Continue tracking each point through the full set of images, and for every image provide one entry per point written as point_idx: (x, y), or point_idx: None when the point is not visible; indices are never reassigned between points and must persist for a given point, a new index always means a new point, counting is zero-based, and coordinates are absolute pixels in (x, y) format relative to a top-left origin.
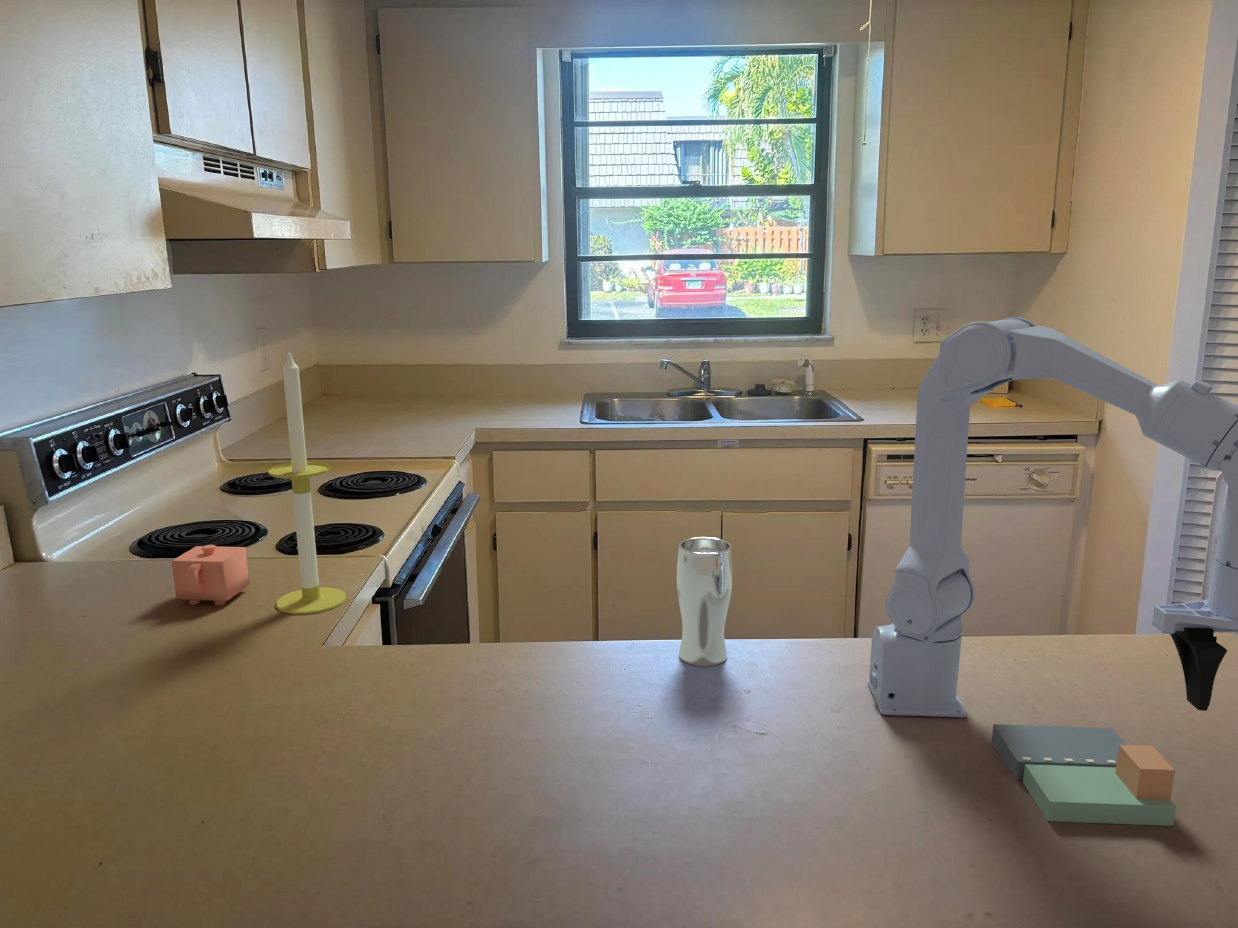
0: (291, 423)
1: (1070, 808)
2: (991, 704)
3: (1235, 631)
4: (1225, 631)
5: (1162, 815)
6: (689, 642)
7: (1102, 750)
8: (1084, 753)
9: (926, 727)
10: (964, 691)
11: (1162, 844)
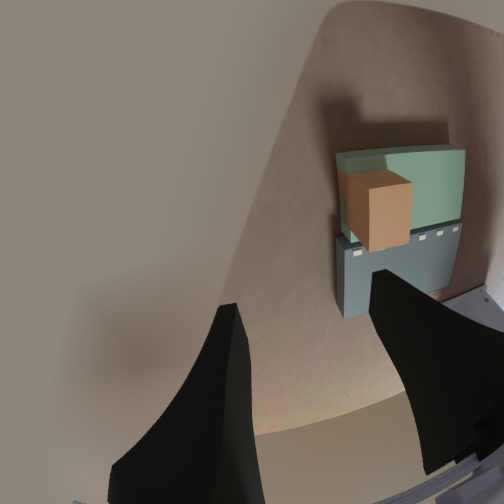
0: None
1: (445, 148)
2: None
3: (405, 493)
4: (435, 478)
5: (355, 153)
6: None
7: (378, 269)
8: (399, 257)
9: (469, 278)
10: None
11: (360, 112)
